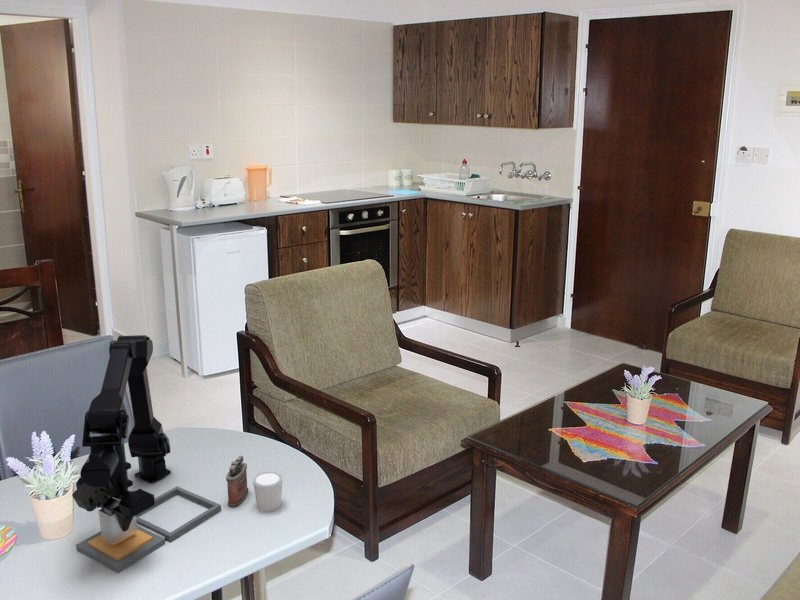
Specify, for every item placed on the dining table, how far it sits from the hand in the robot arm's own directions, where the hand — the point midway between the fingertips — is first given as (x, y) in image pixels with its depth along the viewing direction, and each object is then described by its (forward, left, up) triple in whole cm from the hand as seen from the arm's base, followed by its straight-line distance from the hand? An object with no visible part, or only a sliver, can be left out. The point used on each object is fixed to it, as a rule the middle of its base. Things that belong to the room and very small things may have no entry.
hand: (119, 527), depth 163 cm
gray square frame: (0, +14, -5) cm, 15 cm away
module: (0, 0, -2) cm, 2 cm away
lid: (0, 0, -5) cm, 5 cm away
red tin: (+7, +28, -5) cm, 29 cm away
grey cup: (+15, +30, -5) cm, 34 cm away
